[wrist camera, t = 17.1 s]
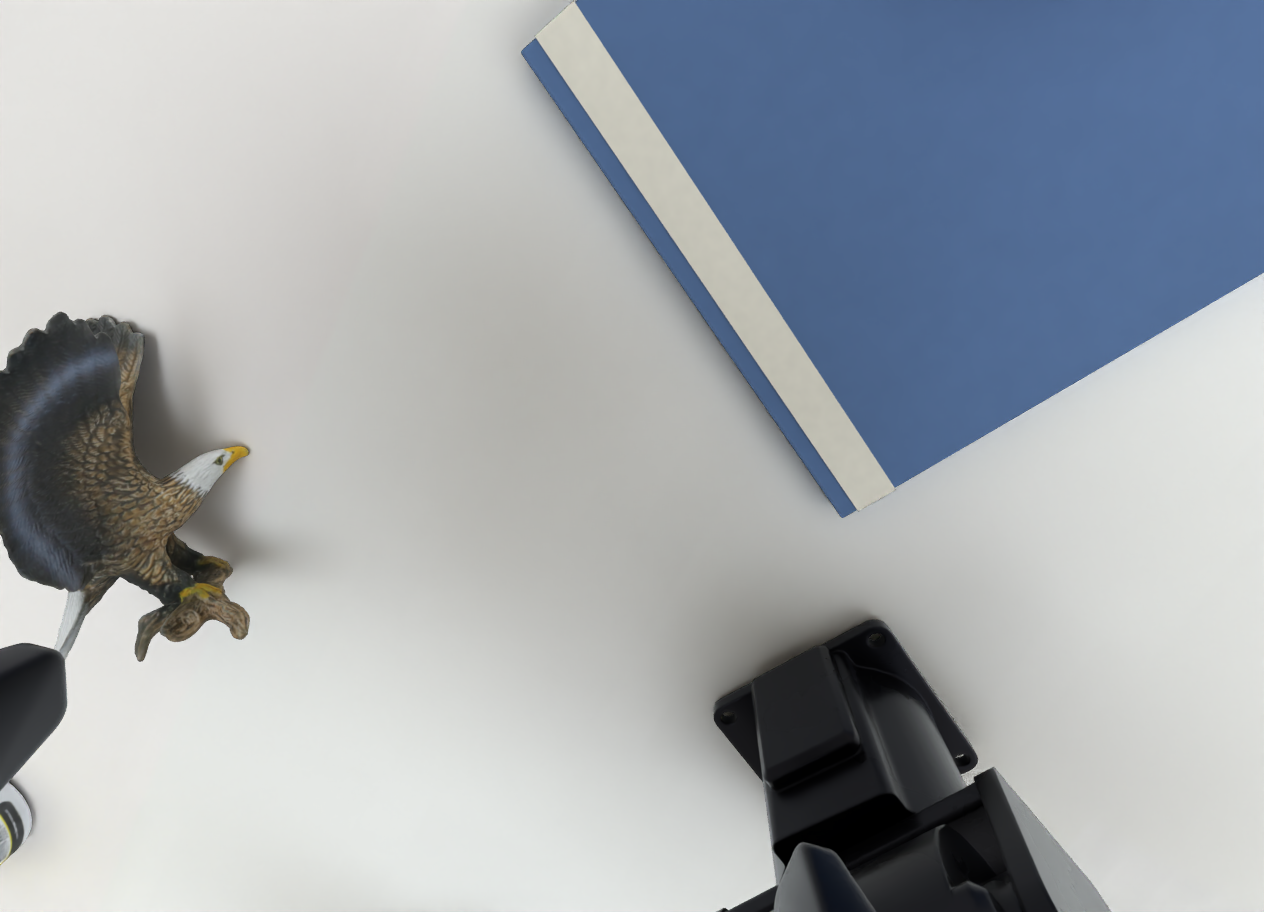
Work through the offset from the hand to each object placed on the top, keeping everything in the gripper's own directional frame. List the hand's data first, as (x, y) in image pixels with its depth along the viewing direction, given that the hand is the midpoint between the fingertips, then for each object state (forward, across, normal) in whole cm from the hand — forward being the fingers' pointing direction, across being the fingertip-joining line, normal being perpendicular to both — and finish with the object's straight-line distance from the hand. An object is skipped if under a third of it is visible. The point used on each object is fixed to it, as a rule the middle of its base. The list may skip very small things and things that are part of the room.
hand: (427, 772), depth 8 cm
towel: (+13, -8, -11) cm, 19 cm away
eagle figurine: (+13, +12, +4) cm, 19 cm away
